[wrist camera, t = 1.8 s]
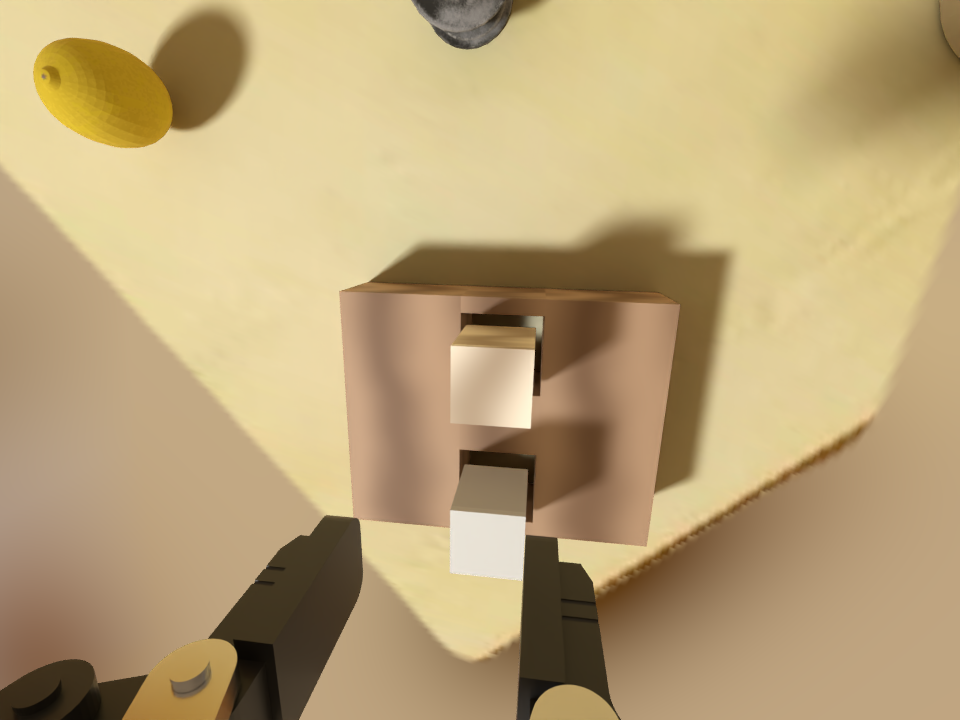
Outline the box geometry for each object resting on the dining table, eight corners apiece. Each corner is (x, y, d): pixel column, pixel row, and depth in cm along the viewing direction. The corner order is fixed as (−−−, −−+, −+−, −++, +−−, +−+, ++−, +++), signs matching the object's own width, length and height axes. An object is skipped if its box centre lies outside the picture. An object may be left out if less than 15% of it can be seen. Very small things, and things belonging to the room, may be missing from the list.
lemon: (148, 167, 33) (30, 150, 25) (110, 85, 32) (-26, 39, 24) (213, 139, 32) (110, 112, 24) (176, 52, 31) (56, -6, 23)
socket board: (658, 292, 31) (680, 304, 26) (632, 503, 35) (646, 546, 31) (368, 282, 33) (339, 291, 28) (377, 481, 38) (353, 518, 33)
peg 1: (535, 327, 27) (534, 349, 22) (532, 394, 28) (530, 428, 23) (466, 324, 27) (450, 345, 22) (465, 389, 28) (450, 423, 23)
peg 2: (528, 469, 29) (525, 517, 24) (525, 524, 30) (522, 580, 25) (464, 464, 30) (450, 510, 25) (464, 519, 31) (449, 573, 26)
